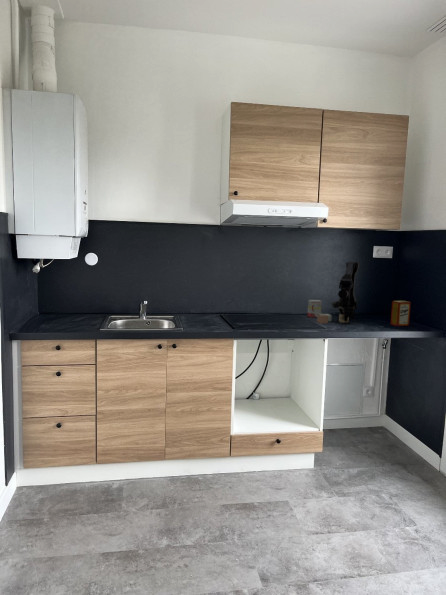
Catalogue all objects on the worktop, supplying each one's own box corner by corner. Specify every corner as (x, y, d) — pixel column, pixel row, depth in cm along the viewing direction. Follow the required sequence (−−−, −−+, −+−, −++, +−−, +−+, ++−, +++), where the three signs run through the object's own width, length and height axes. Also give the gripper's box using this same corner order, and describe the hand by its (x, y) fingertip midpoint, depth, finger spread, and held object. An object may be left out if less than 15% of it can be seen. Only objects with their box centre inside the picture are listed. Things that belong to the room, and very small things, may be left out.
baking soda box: (397, 326, 292) (399, 301, 290) (390, 324, 298) (392, 300, 297) (409, 325, 296) (410, 301, 294) (401, 323, 302) (403, 300, 300)
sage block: (328, 319, 311) (329, 313, 311) (331, 321, 304) (331, 315, 304) (318, 319, 311) (319, 313, 311) (320, 321, 304) (321, 315, 304)
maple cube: (346, 321, 305) (346, 314, 305) (348, 322, 300) (349, 315, 300) (338, 321, 305) (339, 313, 304) (341, 322, 300) (341, 315, 299)
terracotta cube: (323, 322, 300) (324, 314, 299) (327, 323, 295) (328, 315, 295) (316, 322, 298) (317, 314, 298) (320, 323, 294) (321, 316, 293)
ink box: (310, 317, 317) (310, 300, 316) (307, 316, 322) (308, 299, 320) (321, 317, 319) (322, 300, 318) (318, 316, 324) (319, 299, 322)
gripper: (329, 295, 309) (327, 317, 311) (337, 298, 291) (336, 322, 293) (345, 295, 310) (343, 318, 312) (354, 299, 292) (353, 322, 294)
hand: (343, 320), depth 303 cm, fingers open, 7 cm apart
